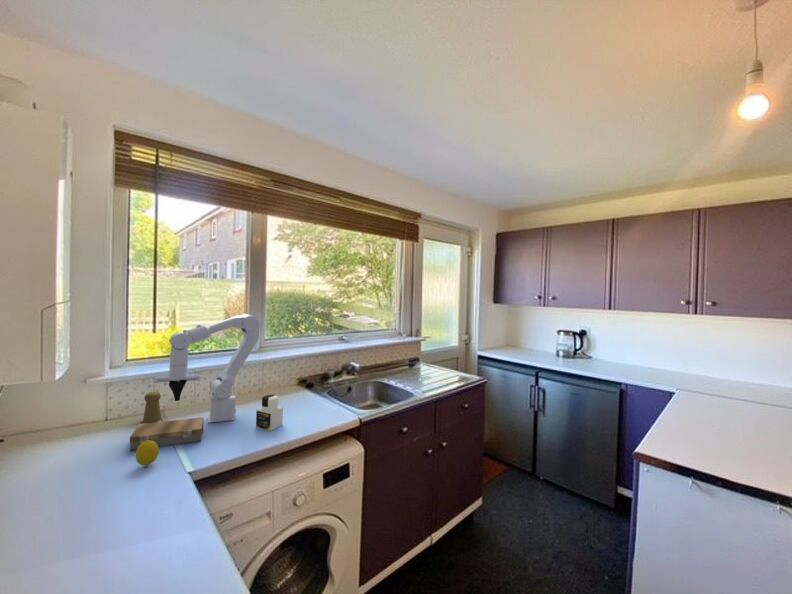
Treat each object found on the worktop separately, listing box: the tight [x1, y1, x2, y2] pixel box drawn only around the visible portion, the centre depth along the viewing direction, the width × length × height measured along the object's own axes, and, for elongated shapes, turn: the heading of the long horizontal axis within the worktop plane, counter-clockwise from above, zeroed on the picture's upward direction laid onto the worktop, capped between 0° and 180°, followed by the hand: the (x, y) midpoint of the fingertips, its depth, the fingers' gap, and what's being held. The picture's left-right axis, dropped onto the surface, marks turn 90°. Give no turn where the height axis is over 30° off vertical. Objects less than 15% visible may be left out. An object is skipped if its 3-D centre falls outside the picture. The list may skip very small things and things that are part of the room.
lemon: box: [135, 440, 159, 467], centre depth 102 cm, size 6×6×8 cm
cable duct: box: [129, 421, 205, 452], centre depth 118 cm, size 20×10×3 cm, turn 115°
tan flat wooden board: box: [129, 417, 205, 443], centre depth 118 cm, size 20×11×2 cm, turn 115°
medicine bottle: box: [255, 394, 284, 432], centre depth 133 cm, size 7×7×12 cm
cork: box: [142, 391, 162, 424], centre depth 133 cm, size 6×6×11 cm
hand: (177, 400), depth 128 cm, fingers closed
